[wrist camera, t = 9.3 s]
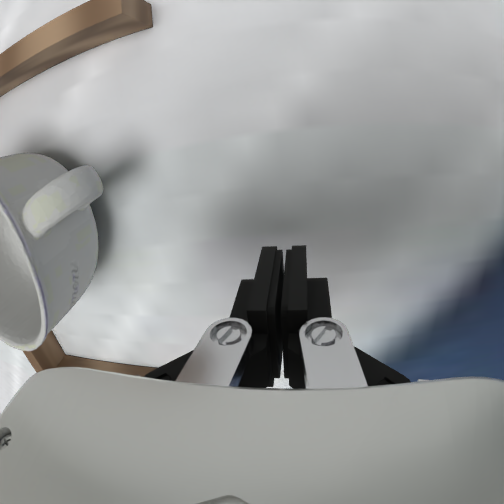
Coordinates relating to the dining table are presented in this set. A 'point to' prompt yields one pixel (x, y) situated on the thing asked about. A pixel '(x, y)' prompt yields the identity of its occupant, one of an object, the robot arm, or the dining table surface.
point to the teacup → (43, 244)
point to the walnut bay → (46, 56)
